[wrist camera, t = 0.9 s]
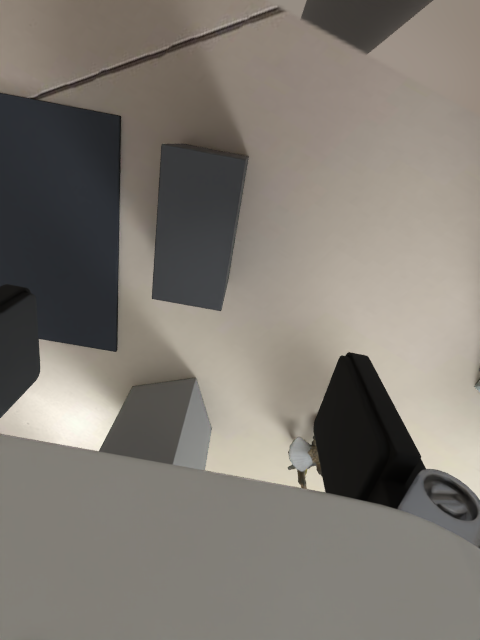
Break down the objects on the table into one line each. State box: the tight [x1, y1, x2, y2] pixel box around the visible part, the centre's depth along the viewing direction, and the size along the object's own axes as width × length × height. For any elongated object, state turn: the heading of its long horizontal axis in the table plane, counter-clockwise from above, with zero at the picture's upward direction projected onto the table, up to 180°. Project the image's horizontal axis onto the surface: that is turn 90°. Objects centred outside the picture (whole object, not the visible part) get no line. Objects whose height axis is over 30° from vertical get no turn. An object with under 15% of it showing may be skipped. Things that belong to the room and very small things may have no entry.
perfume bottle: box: [99, 378, 212, 470], centre depth 29 cm, size 7×7×18 cm
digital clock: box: [152, 144, 249, 311], centre depth 26 cm, size 10×5×6 cm, turn 170°
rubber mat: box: [0, 93, 121, 352], centre depth 30 cm, size 20×14×1 cm
